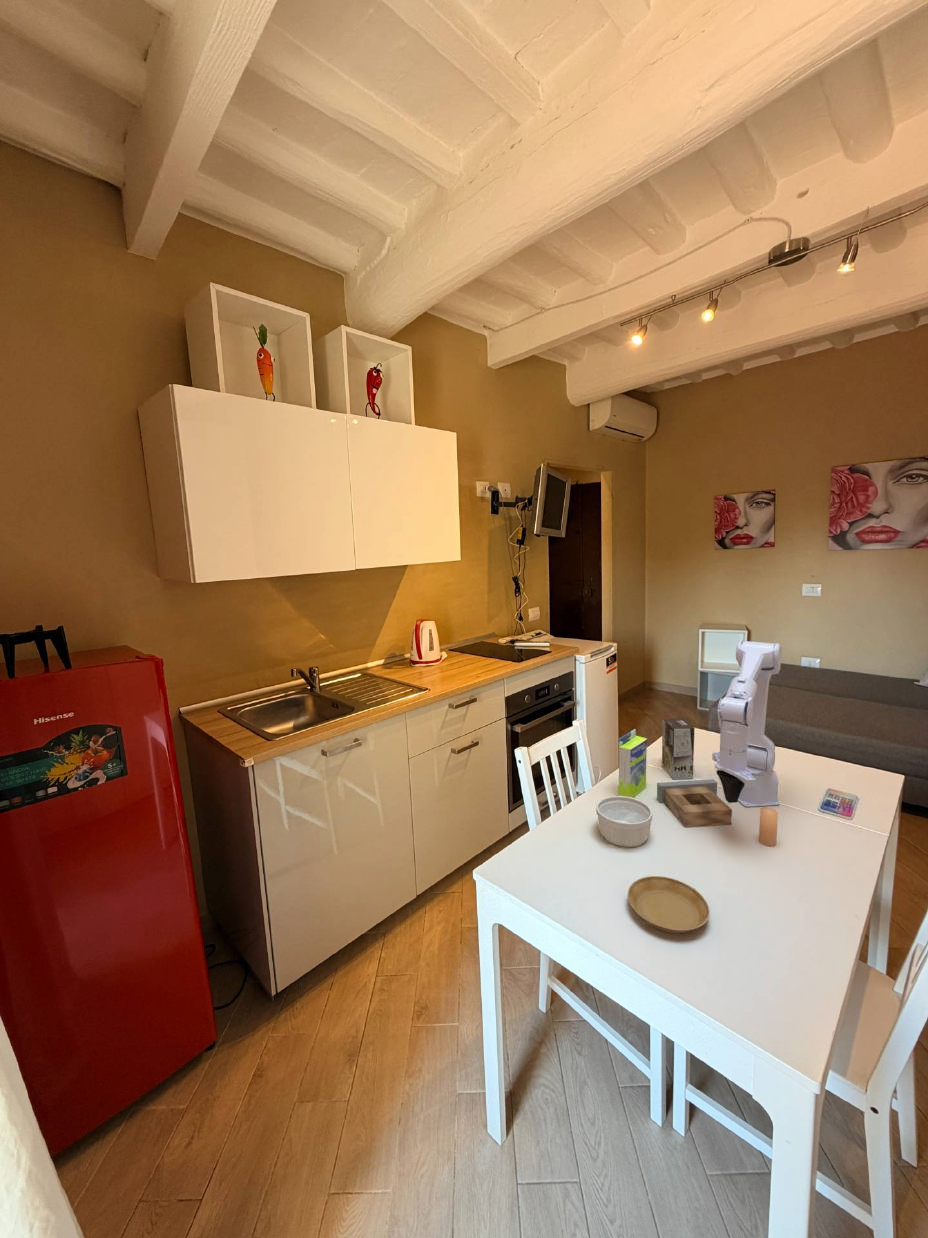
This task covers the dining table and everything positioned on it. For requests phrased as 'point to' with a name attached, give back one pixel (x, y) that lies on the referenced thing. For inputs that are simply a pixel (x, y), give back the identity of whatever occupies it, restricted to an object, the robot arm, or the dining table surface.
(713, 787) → the wall
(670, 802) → the socket block
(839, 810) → the smartphone
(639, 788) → the box
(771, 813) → the dowel
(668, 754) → the coffee box
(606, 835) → the ramekin
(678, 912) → the plant saucer
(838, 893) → the dining table surface
